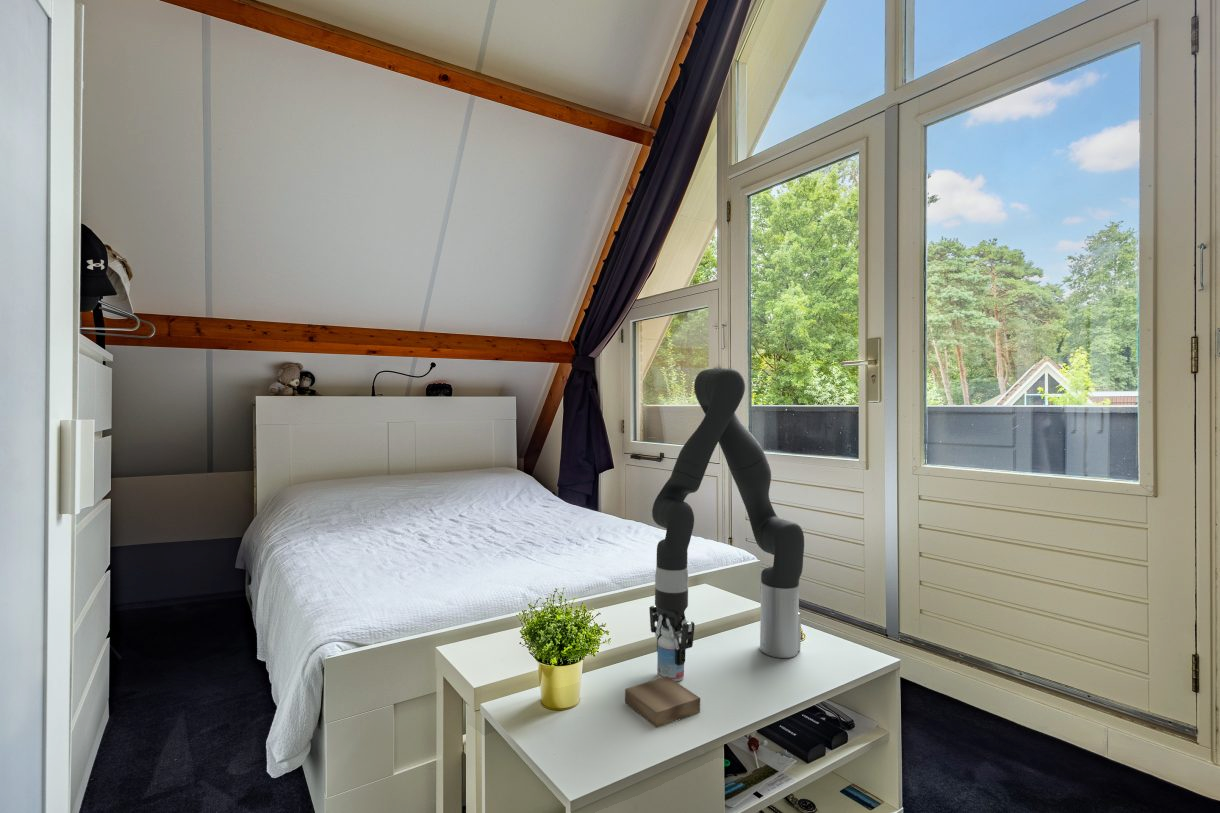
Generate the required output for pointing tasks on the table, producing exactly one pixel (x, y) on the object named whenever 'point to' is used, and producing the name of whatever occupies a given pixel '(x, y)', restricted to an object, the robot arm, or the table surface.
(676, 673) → the pill bottle
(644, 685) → the walnut stand
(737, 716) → the table surface
